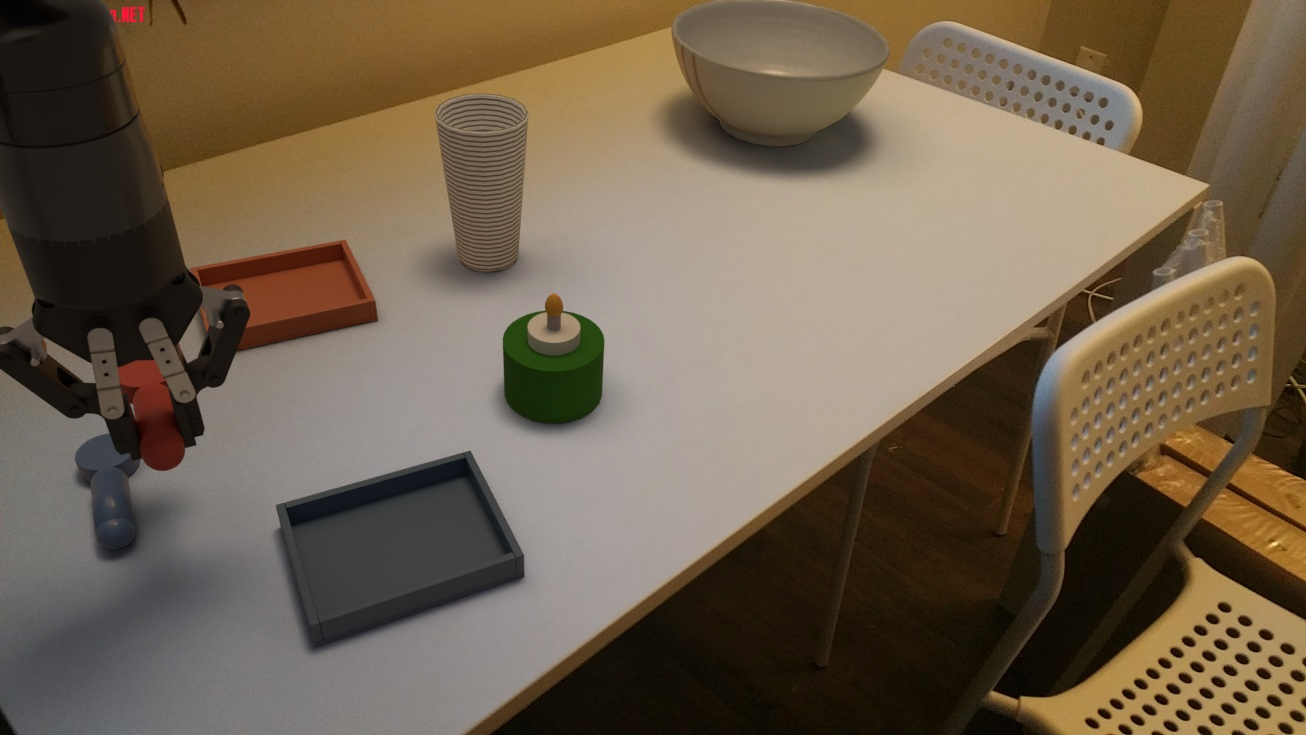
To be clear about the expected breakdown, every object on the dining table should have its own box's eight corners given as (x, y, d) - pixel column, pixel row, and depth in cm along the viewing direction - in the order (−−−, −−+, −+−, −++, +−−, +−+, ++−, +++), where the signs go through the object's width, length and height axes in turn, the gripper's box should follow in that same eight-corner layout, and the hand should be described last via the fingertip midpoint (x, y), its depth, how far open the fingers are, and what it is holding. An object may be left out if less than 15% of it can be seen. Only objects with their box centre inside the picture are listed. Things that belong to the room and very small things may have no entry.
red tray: (212, 356, 84) (207, 335, 83) (195, 287, 92) (189, 267, 91) (378, 320, 90) (375, 300, 89) (348, 258, 98) (345, 239, 96)
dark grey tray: (315, 647, 63) (309, 625, 61) (280, 525, 70) (275, 504, 69) (524, 575, 68) (524, 554, 67) (471, 470, 76) (470, 449, 74)
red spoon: (205, 469, 60) (197, 440, 59) (134, 487, 59) (123, 458, 57) (180, 362, 68) (173, 334, 67) (117, 376, 67) (107, 347, 65)
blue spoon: (153, 546, 68) (144, 522, 67) (89, 564, 66) (78, 541, 65) (137, 442, 76) (129, 419, 74) (79, 456, 74) (69, 433, 73)
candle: (541, 349, 88) (541, 254, 82) (620, 383, 85) (626, 287, 79) (484, 398, 82) (479, 300, 76) (566, 437, 79) (568, 338, 73)
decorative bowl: (624, 131, 124) (629, 36, 116) (725, 68, 142) (735, -17, 135) (818, 196, 114) (837, 97, 106) (900, 120, 132) (921, 31, 125)
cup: (545, 267, 99) (544, 122, 89) (465, 288, 95) (455, 139, 85) (509, 227, 104) (505, 87, 94) (432, 245, 100) (420, 101, 91)
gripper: (-77, 260, 45) (39, 518, 56) (241, 210, 51) (291, 453, 62) (-71, 186, 50) (35, 436, 61) (218, 148, 56) (268, 383, 67)
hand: (163, 443), depth 61 cm, fingers closed on red spoon, 2 cm apart
